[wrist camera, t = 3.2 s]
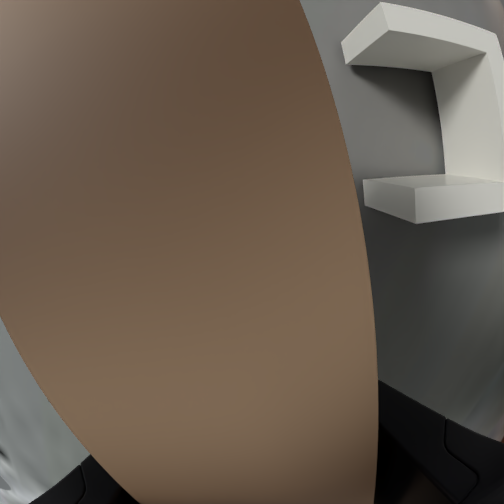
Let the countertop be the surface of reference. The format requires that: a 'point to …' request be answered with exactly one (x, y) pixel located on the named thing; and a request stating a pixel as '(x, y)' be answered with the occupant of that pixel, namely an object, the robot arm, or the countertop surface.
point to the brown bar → (188, 248)
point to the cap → (441, 110)
